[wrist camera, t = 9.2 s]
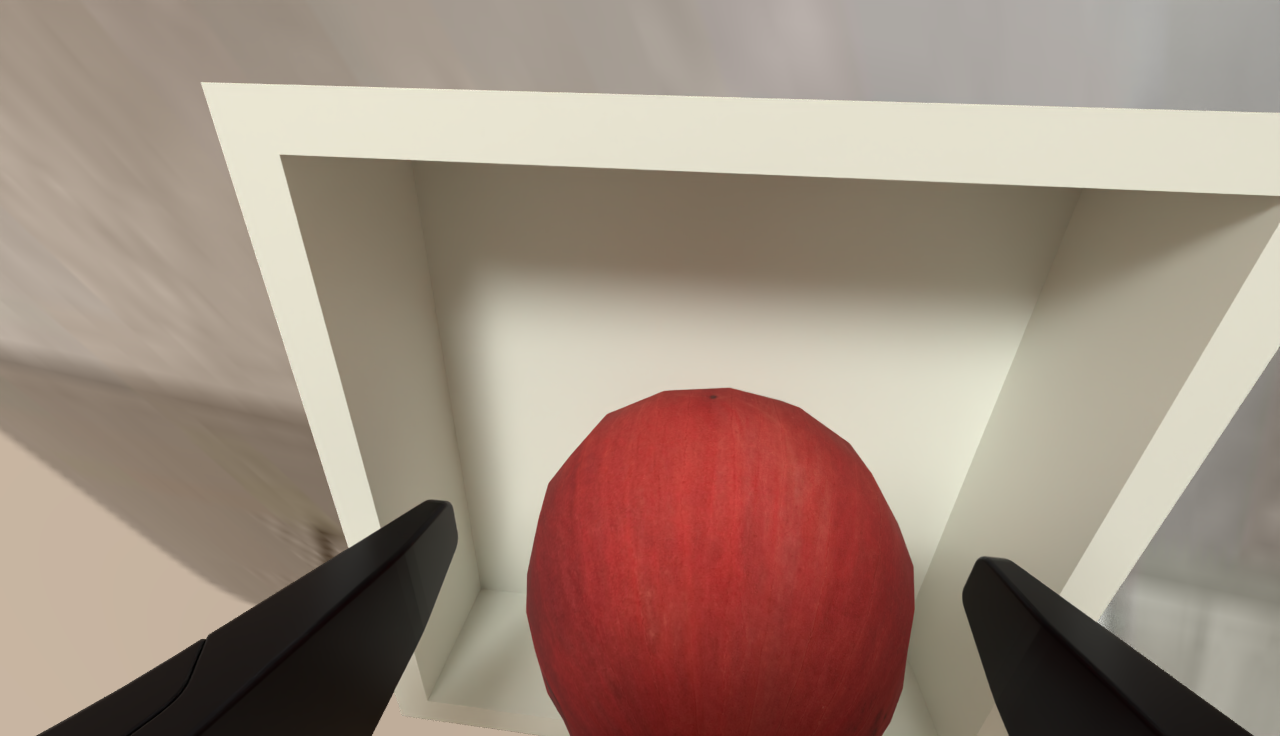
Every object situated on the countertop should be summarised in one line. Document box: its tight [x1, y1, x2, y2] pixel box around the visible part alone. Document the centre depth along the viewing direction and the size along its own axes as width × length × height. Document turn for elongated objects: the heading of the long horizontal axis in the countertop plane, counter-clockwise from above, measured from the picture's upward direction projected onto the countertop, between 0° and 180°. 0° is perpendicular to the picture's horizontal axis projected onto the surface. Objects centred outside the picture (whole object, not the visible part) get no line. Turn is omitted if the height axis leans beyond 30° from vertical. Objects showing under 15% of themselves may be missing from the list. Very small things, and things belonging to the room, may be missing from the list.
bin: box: [201, 82, 1280, 736], centre depth 10 cm, size 14×14×4 cm
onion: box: [526, 388, 915, 736], centre depth 8 cm, size 6×6×8 cm
